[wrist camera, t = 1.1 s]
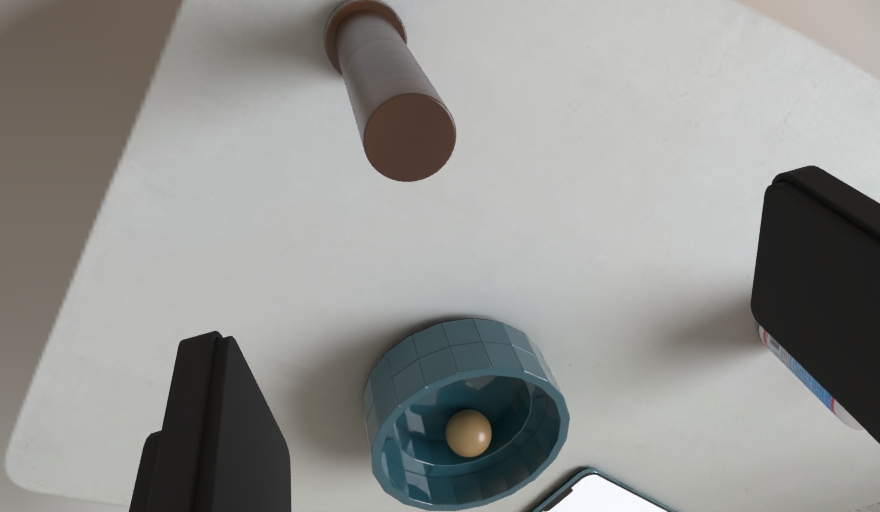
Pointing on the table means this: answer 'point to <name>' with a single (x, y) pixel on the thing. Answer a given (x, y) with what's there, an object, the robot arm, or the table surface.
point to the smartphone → (599, 496)
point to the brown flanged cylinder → (389, 92)
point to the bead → (468, 433)
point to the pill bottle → (809, 381)
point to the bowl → (454, 389)
